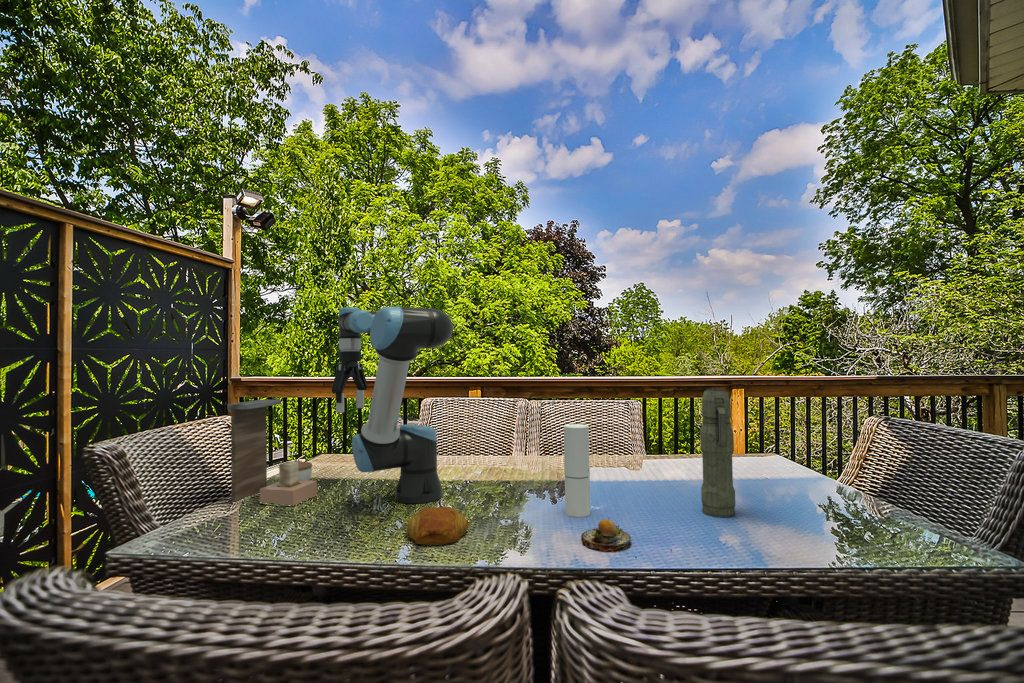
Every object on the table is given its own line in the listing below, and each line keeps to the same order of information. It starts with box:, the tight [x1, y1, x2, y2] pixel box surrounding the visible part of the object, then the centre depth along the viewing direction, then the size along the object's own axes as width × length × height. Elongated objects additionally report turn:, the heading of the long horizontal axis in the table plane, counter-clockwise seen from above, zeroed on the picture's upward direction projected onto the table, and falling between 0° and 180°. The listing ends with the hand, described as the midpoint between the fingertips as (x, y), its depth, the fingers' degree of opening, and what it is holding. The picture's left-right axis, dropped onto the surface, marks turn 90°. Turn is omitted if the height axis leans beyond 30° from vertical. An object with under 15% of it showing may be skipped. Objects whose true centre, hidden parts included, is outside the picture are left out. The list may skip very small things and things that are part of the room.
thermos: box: [699, 388, 736, 518], centre depth 145 cm, size 9×12×35 cm
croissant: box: [406, 506, 470, 546], centre depth 129 cm, size 14×16×8 cm
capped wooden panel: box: [226, 399, 282, 503], centre depth 166 cm, size 7×16×32 cm, turn 167°
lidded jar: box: [293, 459, 313, 481], centre depth 180 cm, size 11×11×9 cm
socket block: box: [259, 480, 318, 506], centre depth 163 cm, size 12×12×5 cm
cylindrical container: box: [563, 423, 591, 518], centre depth 146 cm, size 7×7×25 cm
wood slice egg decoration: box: [580, 518, 632, 553], centre depth 123 cm, size 12×12×8 cm
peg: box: [278, 461, 299, 488], centre depth 163 cm, size 4×4×12 cm
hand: (350, 410), depth 181 cm, fingers open, 13 cm apart
